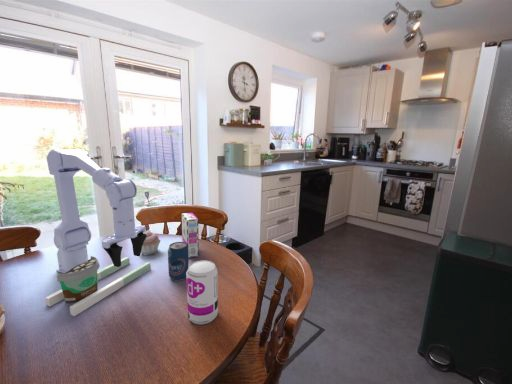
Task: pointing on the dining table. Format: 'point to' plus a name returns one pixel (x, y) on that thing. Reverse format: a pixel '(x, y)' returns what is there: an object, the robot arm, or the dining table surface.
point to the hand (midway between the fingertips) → (127, 260)
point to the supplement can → (202, 292)
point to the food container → (79, 281)
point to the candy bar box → (190, 233)
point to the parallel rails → (103, 291)
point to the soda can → (178, 260)
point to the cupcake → (150, 243)
